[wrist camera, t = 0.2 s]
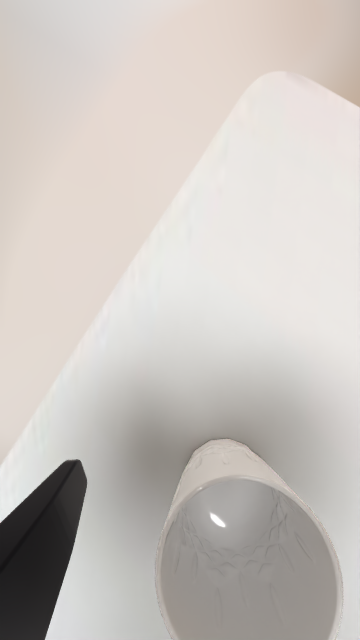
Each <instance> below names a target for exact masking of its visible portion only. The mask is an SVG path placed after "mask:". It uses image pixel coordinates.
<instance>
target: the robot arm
mask: <svg viewBox="0 0 360 640" xmlns="http://www.w3.org/2000/svg"><path fill="white" fill-rule="evenodd" d="M86 488H87V478H86V475H85V472H84V469H83V466H82V463H81V461H80V460H78V459H76V460H67V461H65V462H63V463H62V464H61V465H60V466H59V467H58V468H57V469H56V470H55V471H54V472H53V473H52V474H51V475H50V476H49V477H48V478H47V479H46V480H44V481H43V482H42V483H41V484H40V485H39V486H38V487H37V488H36V489H35V490H34V491H33V492H32V493H31V494H30V495H29V496H28V497H27V498H26V499H25V500H24V501H23V502H22V503H21V504H20V505H19V506H17V507H16V508H15V509H14V510H13V511H12V512H11V513H10V514H9V515H8V516H7V517H6V518H5V519H4V520H3V521H2V522H1V523H0V640H45V637H46V634H47V631H48V628H49V624H50V621H51V618H52V615H53V612H54V608H55V605H56V602H57V599H58V596H59V592H60V589H61V586H62V583H63V580H64V576H65V573H66V570H67V567H68V564H69V560H70V557H71V554H72V550H73V546H74V542H75V538H76V534H77V529H78V525H79V520H80V515H81V511H82V506H83V502H84V497H85V493H86Z"/></svg>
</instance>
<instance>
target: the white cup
mask: <svg viewBox="0 0 360 640" xmlns="http://www.w3.org/2000/svg"><path fill="white" fill-rule="evenodd" d="M155 584H156V592H157V598H158V603H159V607H160V611H161V614H162V617H163V620H164V622H165V625H166V627H167V629H168V631H169V634H170V635H171V637H172V639H173V640H336V637H337V634H338V631H339V628H340V623H341V618H342V611H343V582H342V575H341V570H340V565H339V562H338V558H337V555H336V552H335V549H334V547H333V544H332V542H331V540H330V538H329V536H328V534H327V532H326V530H325V529H324V527H323V525H322V524H321V522H320V521H319V519H318V518H317V517H316V515H315V514H314V513H313V512H312V510H311V509H310V508H309V507H308V506H307V505H306V504H305V503H304V502H303V501H302V500H301V499H300V498H299V497H298V495H297V494H296V493H295V492H294V491H293V490H292V489H291V488H290V487H289V486H288V485H287V484H286V483H285V482H284V481H283V479H282V478H281V477H280V476H279V475H278V474H277V473H276V472H275V471H274V470H273V469H272V468H271V467H270V466H269V465H268V464H267V463H266V462H265V461H264V460H263V459H261V458H260V457H259V456H258V455H256V454H254V453H253V452H252V451H251V450H250V449H249V448H248V447H247V446H246V445H244V444H242V443H239V442H236V441H234V440H231V439H228V438H227V439H218V440H210V441H208V442H207V443H205V444H204V445H202V446H201V447H200V448H198V449H197V450H195V451H194V453H193V454H192V456H191V458H190V460H189V462H188V463H187V465H186V467H185V469H184V471H183V474H182V476H181V478H180V481H179V484H178V487H177V489H176V491H175V494H174V497H173V500H172V504H171V507H170V510H169V513H168V516H167V519H166V522H165V525H164V528H163V531H162V534H161V537H160V540H159V544H158V548H157V554H156V562H155Z"/></svg>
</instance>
